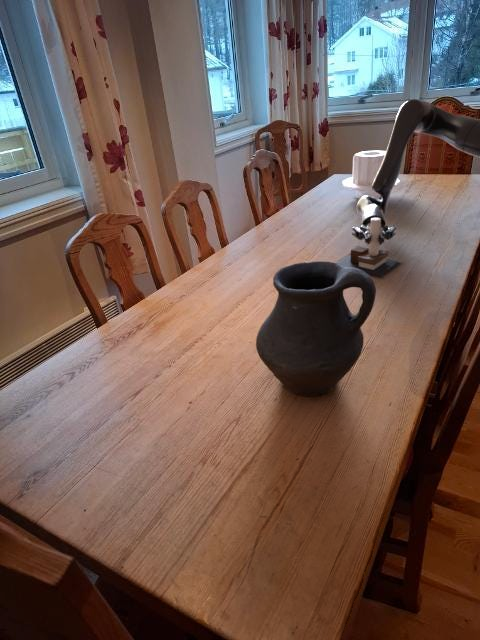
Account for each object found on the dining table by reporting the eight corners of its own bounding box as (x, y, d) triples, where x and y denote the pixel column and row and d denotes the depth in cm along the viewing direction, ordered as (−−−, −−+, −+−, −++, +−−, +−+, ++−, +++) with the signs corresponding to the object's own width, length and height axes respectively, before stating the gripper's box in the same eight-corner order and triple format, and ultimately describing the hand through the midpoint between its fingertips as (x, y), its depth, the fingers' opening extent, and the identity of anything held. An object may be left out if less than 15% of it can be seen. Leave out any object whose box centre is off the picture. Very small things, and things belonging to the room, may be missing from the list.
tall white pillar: (371, 257, 137) (374, 213, 130) (387, 261, 133) (391, 216, 126) (357, 266, 132) (360, 221, 125) (373, 270, 128) (377, 224, 121)
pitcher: (277, 345, 100) (271, 243, 87) (374, 358, 92) (383, 248, 79) (246, 402, 83) (233, 287, 71) (360, 424, 76) (369, 299, 63)
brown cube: (368, 260, 136) (369, 248, 134) (361, 264, 133) (362, 252, 131) (357, 257, 138) (357, 245, 136) (350, 261, 136) (350, 249, 134)
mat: (399, 263, 133) (399, 261, 132) (380, 277, 126) (380, 275, 125) (353, 253, 143) (353, 251, 142) (333, 265, 136) (333, 264, 135)
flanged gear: (404, 191, 203) (408, 148, 193) (388, 205, 185) (392, 159, 176) (353, 188, 216) (355, 148, 206) (333, 201, 198) (334, 158, 189)
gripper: (351, 211, 140) (350, 229, 126) (396, 210, 137) (401, 228, 122) (350, 233, 144) (349, 253, 129) (394, 233, 140) (398, 253, 126)
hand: (374, 241), depth 126 cm, fingers closed on tall white pillar, 3 cm apart
